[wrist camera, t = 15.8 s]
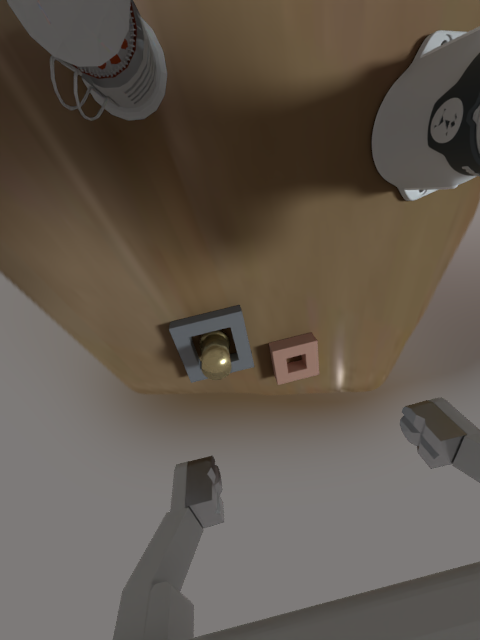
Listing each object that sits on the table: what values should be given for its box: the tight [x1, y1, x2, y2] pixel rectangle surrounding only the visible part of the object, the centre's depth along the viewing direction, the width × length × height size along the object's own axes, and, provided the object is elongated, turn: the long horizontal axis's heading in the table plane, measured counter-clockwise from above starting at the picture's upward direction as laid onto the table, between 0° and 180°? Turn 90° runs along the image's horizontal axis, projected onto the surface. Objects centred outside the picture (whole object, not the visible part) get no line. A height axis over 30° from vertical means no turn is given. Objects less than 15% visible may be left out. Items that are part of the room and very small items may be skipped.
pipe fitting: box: [200, 330, 232, 380], centre depth 45 cm, size 6×6×8 cm
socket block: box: [169, 305, 254, 382], centre depth 47 cm, size 13×13×2 cm
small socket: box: [269, 332, 319, 385], centre depth 51 cm, size 9×9×3 cm
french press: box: [7, 0, 167, 121], centre depth 18 cm, size 10×12×25 cm
